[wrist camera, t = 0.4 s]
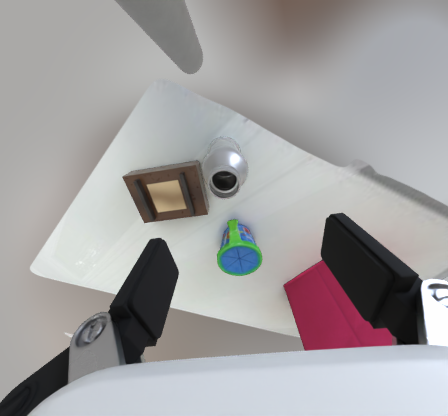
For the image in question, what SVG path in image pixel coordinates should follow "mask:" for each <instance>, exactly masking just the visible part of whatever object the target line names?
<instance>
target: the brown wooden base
mask: <svg viewBox="0 0 448 416" xmlns="http://www.w3.org/2000/svg"><path fill="white" fill-rule="evenodd" d="M123 179H124V181H125V183H126V186H127V188H128V190H129V192H130V194H131V196H132V198H133V200H134V202H135V204H136V206H137V209H138V211H139V213H140V215H141V217H142V219H143V221H144V223H148V222H156V221H163V220H171V219H178V218H186V217H193V216H200V215H208V211H209V203H208V199H207V195H206V190H205V186H204V182H203V177H202V173H201V169H200V164H199V161H192V162H185V163H179V164H173V165H167V166H161V167H155V168H148V169H142V170H136V171H131V172H129V173H128V174H126V175H124V176H123Z"/></svg>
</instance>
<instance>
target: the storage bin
mask: <svg viewBox="0 0 448 416" xmlns="http://www.w3.org/2000/svg"><path fill="white" fill-rule="evenodd" d="M284 288H285V291H286V293H287V296H288V300H289V303H290V306H291V309H292V312H293V315H294V318H295V321H296V325H297V328H298V331H299V334H300V337H301V340H302V343H303V346H304V349H305V351H309V350H324V349H340V348H356V347H373V346H392V334H391V333H390V332H389V331H388V329H387V328H381V329H373V327H372V326H371V325H370V323H369V322H368V321H365V320H364V319H363V318H362V317H361V315H360V314H359V312H358V311H357V309H356V308H355V306H354V305H353V303H352V302H351V300H350V299H349V297H348V296H347V295H346V293H345V292H344V290H343V289H342V287H341V286H340V284H339V283H338V281H337V280H336V278H335V277H334V275H333V274H332V272H331V271H330V270H329V268H328V267H327V265H326V264H325V262H324V261H323V260H322V261H320V262H319V263H317V264H315V265H314V266H312V267H311V268H309V269H307V270H306V271H304V272H303V273H301V274H300V275H298V276H297V277H295V278H294V279H292V280H291V281H289V282H287V283H286V284H284Z"/></svg>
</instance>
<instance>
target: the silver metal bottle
mask: <svg viewBox="0 0 448 416" xmlns="http://www.w3.org/2000/svg"><path fill="white" fill-rule="evenodd" d="M201 171H202V176H203V179H204V180H205V182H206V184H207V185H208V187H209V190H210V192H211V193H212V194H213V195H214V196H215V197H217V198H220V199H229V198H232V197H234V196H235V195H236V194H237V193H238V192H239V189H240V187H241V186H242V185H243V184H244V182H245V180H246V178H247V175H248V165H247V162H246V160H245V158H244V157H243V156H242V155H241V153H240V147H239V145H238V144H237V143H236V141H234V140H233V139H231V138H229V137H219V138H217V139H215V140H214V141H212V143H211V144H210V146H209V148H208V155H207V156H206V157H205V159H204V161H203V163H202V169H201Z"/></svg>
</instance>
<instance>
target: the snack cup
mask: <svg viewBox="0 0 448 416" xmlns="http://www.w3.org/2000/svg"><path fill="white" fill-rule="evenodd" d="M227 224H228V226H229V227H228V228H227V229H226V230H225V231H224V234H223V239H222V243H221V247H220V250H219V251H218V254H217V263H218V266H219V267H220V269H221V270H222V271H224V272H225V273H227V274H230V275H235V276H243V275H248V274H250V273H252V272H254V271H256V270H257V269H258V268H259V267H260V265H261V263H262V254H261V251H260V249H259V247H258V246H257V245H256V243H255V241H254V239H253V237H252V235H251V233H250V231H249V229H248V228H247V227H245V226H243V225H238V220H236V219H234V220H230V221H228V222H227Z"/></svg>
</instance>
